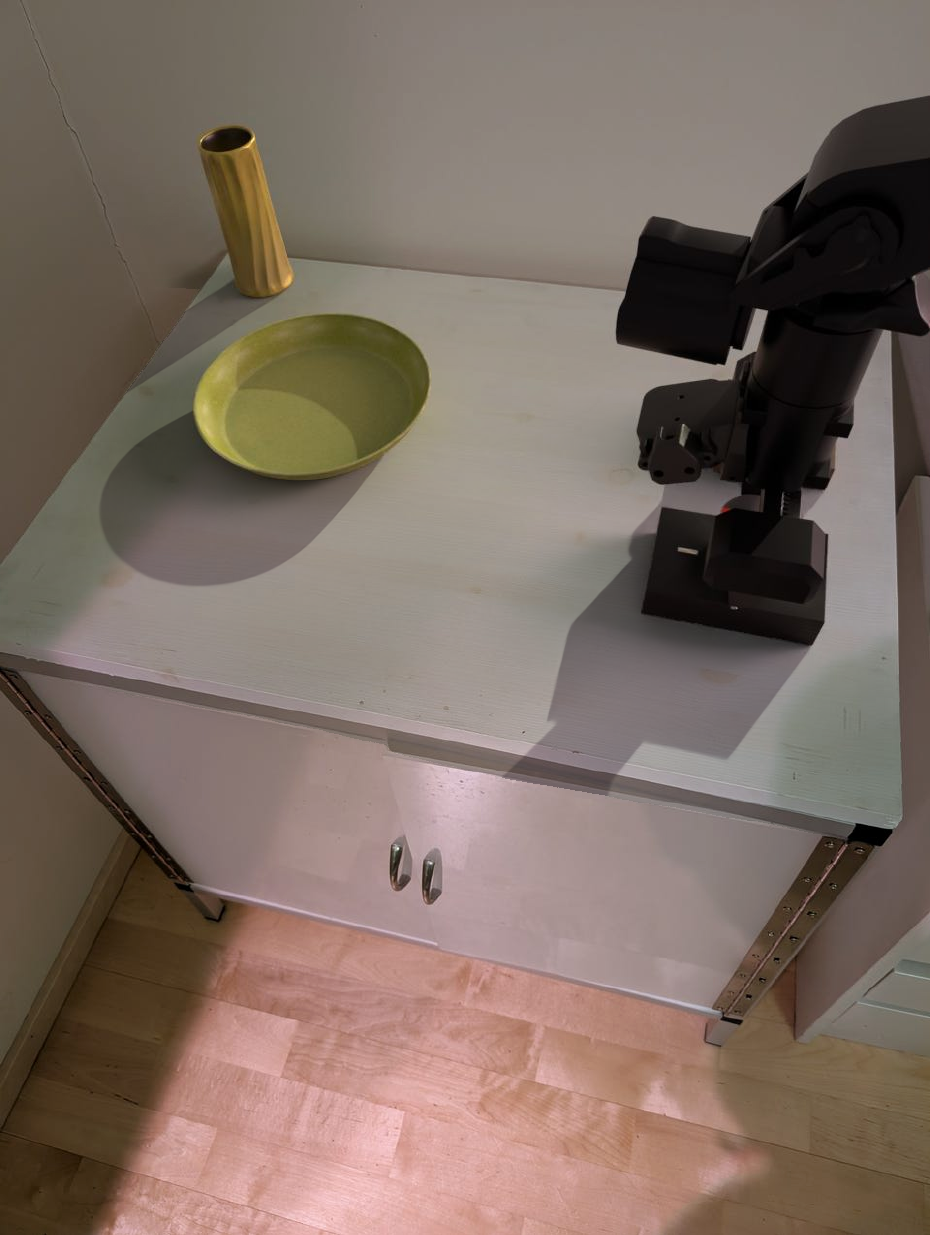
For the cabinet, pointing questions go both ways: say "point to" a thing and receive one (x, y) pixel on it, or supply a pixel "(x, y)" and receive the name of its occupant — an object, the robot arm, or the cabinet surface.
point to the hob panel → (692, 600)
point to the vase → (245, 210)
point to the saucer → (312, 395)
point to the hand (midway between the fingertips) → (742, 553)
